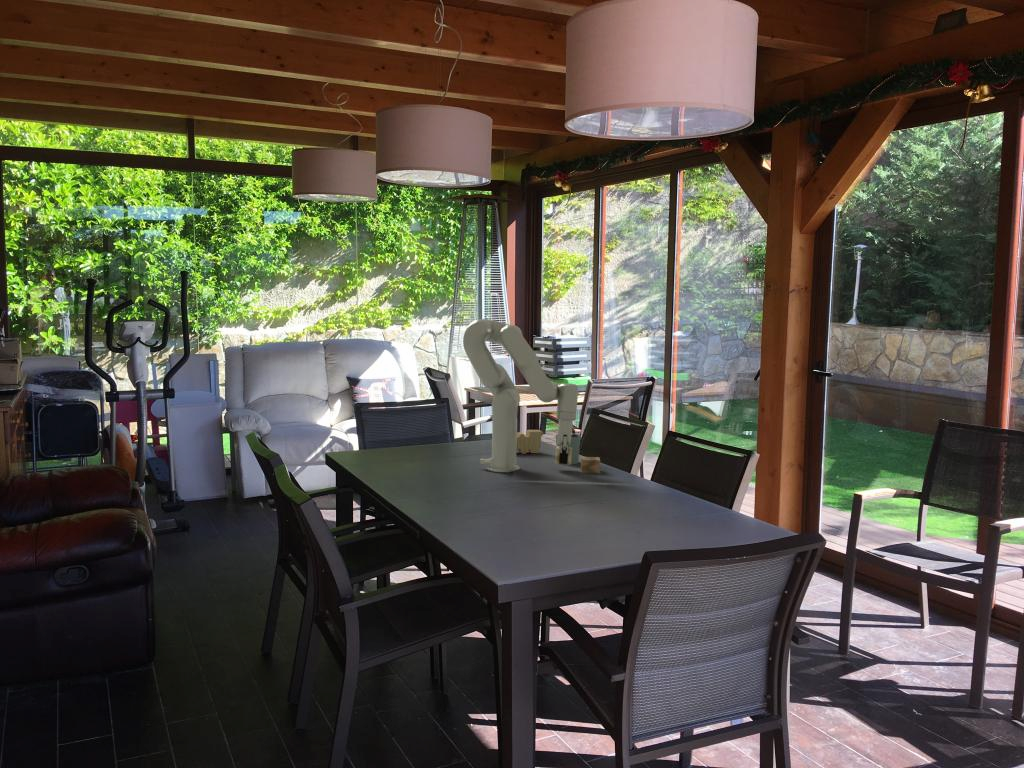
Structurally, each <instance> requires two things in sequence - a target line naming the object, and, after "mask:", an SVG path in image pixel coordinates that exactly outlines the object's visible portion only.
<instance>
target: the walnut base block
mask: <svg viewBox="0 0 1024 768" xmlns="http://www.w3.org/2000/svg"><path fill="white" fill-rule="evenodd" d="M580 470H581V472H580V474H601V459H600V456H596V457H595V456H581V457H580Z"/></svg>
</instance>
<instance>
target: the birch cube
mask: <svg viewBox="0 0 1024 768" xmlns="http://www.w3.org/2000/svg"><path fill="white" fill-rule="evenodd" d="M560 452H561V446H555V458H554V459H555V460H554V464H555V465H565V466H571V465H572V464H571V457H572V447H568V463H567V464H560V463H559V457H560Z"/></svg>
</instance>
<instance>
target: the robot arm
mask: <svg viewBox="0 0 1024 768" xmlns="http://www.w3.org/2000/svg"><path fill="white" fill-rule="evenodd" d="M462 337H463V338H462V344H463V349H464V352H465V354H466V356H467V358H468V360H469V361H470V363H471V366H472V367H473V369H474V371H475V373H476V375H477V376H478V378H479V380H480V383H481V384H482V385H483V386H484V387H485V388H487V389H489V391H490V392H491V394H492V396H493V398H492V400H491V401H492V402H491V411H492V413H491V415H492V418H491V419H492V423H491V424H492V428H491V431H492V432H491V433H492V435H491V457H489V458H480V460H479V464H482V465H488V466H487V470H488V471H490V472H495V473H514V471H519V470H520V469H521V467H520V466H519V465H517V451H516V445H517V433H518V430H517V429H518V406H520V402H521V395H520V393H519V390H518V389H517V387H516V385H515V384H514V382H513V380H512V378H511V377H510V374H508V373H509V372H508V371H507V369H505V367H504V366H503V365H502V364H499V363H497V362H496V360H495V359H494V357H493V355H492V353H491V351H490V350H489V348H488V346H487V344H486V342H488V343H492V344H497V345H498V344H499V345H501V347H503V348H504V350H505V351H506V353H507V354H508V355H509V357H510V358H511V360H512V361H513V362H514V364H515V365H516V367H517V368H518V370H519V372H520V373H521V375H522V377H523V378H524V379H525V381H526V383H527V385H528V386H529V387H530V389H531V390H532V392H533V393H534V394H535V396H536V397H537V399H539V400H540V401H541V402H542V403H551V402H553V401H557V403H556V404H557V406H556V407H557V408H556V420H558V424H557V425H558V426H557V434H558V437H557V445H559V444H561V452H560V457H559V463H560V464H559V465H562V464H567V463H568V446H570V442H571V435H572V434H573V423H574V422H575V421H577V410H578V398H579V397H578V396H579V387H578V385H577V384H575V383H569V382H568V383H565V382H564V383H563V382H561V383H560V382H555V381H552V380H550V378H549V377H548V376H547V374H546V373H545V372H544V370H543V368H542V366H541V364H540V362H539V359H538V356H537V354H536V352H535V351H534V350H533V348H532V347H531V346H530V345H529V343H528V342H527V340H526V338H525V337H524V336H523V332H522V330H521V328H520V327H519V326H517V325H515V324H510V323H504V322H500V321H495V320H490V319H487V318H482V319H481V318H479V319H475V320H473V321H472V322H471V323H469V324H468V326H467V327H466V329H465V331H464V333H463V336H462Z"/></svg>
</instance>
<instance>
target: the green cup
mask: <svg viewBox="0 0 1024 768" xmlns="http://www.w3.org/2000/svg"><path fill="white" fill-rule="evenodd" d="M557 437H558V433H556V434H555V445H556V446H561V444H559V445H557ZM580 445H581V434H576V433H572V435H571V442H570V446H568V447H572V457H571V465H576V464H578V463H579V458H580V457H579V455H580V447H581V446H580ZM556 446H555V447H556Z"/></svg>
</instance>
